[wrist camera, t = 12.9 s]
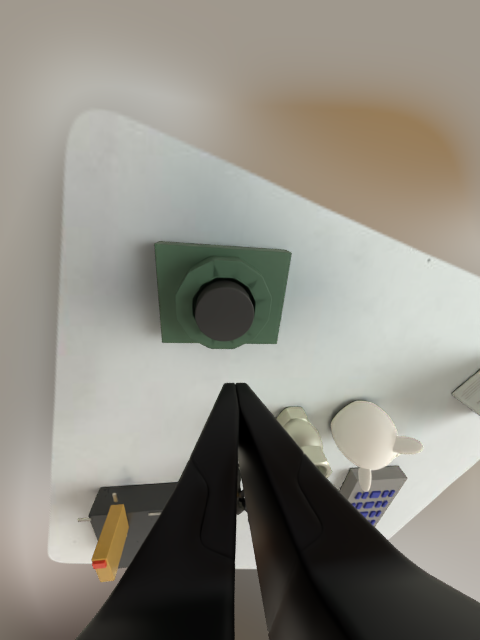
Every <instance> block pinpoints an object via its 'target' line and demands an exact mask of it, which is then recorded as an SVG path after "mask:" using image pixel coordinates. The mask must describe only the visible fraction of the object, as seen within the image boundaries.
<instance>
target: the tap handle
mask: <svg viewBox="0 0 480 640" xmlns="http://www.w3.org/2000/svg"><path fill="white" fill-rule="evenodd" d="M128 529H129V525H128V520H127V516H126V512H125V507H124V504H120V505H111V507H110V509H109V512H108V515H107V518H106V521H105V523H104V526H103V529H102V532H101V535H100V537H99V540H98V543H97V546H96V549H95V551H94V554H93V557H92V566H93V568H94V569H95V570H96V572H97V575H98V577H99V580H100V582H106V581H114V580H115V576H116V573H117V569H118V566H119V562H120V558H121V555H122V551H123V547H124V544H125V540H126V536H127V533H128Z"/></svg>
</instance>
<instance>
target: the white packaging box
mask: <svg viewBox="0 0 480 640" xmlns="http://www.w3.org/2000/svg"><path fill="white" fill-rule="evenodd" d="M453 396H454V397H455V398H457V399H458V400H459V401H461V402H462V403H463V404H465V405H466V406H467V407H469V408H470V409H471V410H473V411H474V412H475V413H477V414H478V415H479V416H480V371H478V372H477V373H476V374H475V375H473V376H472V377H471V378H470V379H469V380H468V381H466V382H465V383H464V384H463V385H462V386H460V387H459V388H458V389H457V390H456V391H455V392H453Z"/></svg>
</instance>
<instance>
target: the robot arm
mask: <svg viewBox="0 0 480 640" xmlns="http://www.w3.org/2000/svg"><path fill="white" fill-rule="evenodd" d="M238 461H239V466H240V472H241V478H242V484H243V490H244V496H245V501H246V507H247V513H248V519H249V525H250V531H251V536H252V542H253V548H254V554H255V560H256V566H257V571H258V577H259V583H260V589H261V595H262V601H263V606H264V612H265V618H266V624H267V630H268V632H269V634H268V636H269V640H480V603H479V602H477V601H476V600H474V599H472V598H470V597H469V596H467V595H465V594H463V593H461V592H460V591H458V590H456V589H454V588H453V587H451V586H449V585H447V584H446V583H444V582H442V581H440V580H439V579H437V578H435V577H433V576H432V575H430V574H428V573H427V572H425V571H424V570H422V569H421V568H420V567H418V566H417V565H416V564H414V563H413V562H412V561H410V560H409V559H408V558H407V557H405V556H404V555H403V554H402V553H401V552H400V551H398V550H397V549H396V548H395V547H394V546H393V545H392V544H391V543H390V542H389V541H388V540H387V539H386V538H385V537H384V536H383V535H382V534H381V533H380V532H379V531H378V530H377V529H376V528H375V527H374V526H373V525H372V524H371V523H370V522H369V521H368V520H367V519H366V518H365V517H364V516H363V515H362V514H361V513H360V512H359V511H358V510H357V509H356V508H355V507H354V506H353V505H352V504H351V503H350V502H349V501H348V500H347V499H346V498H345V497H344V496H343V495H342V494H341V493H340V492H339V491H338V490H337V489H336V488H335V487H334V486H333V484H332V483H331V482H330V481H329V480H328V479H327V478H326V477H325V476H324V475H323V474H322V472H321V471H320V470H319V469H318V468H317V467H316V466H315V464H314V463H313V462H312V461H311V460H310V459H309V457H308V456H307V455H306V454H304V452H303V450H302V449H301V448H300V447H299V446H298V444H297V443H296V442H295V441H294V440H293V438H292V437H291V436H290V435H289V434H288V432H287V431H286V430H285V429H284V428H283V426H282V425H281V424H280V423H279V422H278V420H277V419H276V418H275V417H274V416H273V415H272V413H271V412H270V411H269V410H268V409H267V407H266V406H265V405H264V404H263V403H262V401H261V400H260V399H259V398H258V397H257V395H256V394H255V393H254V392H253V391H252V389H251V388H250V387H249V386H248V385H247V384H246V383H236V384H234V383H225V384H224V385H223V387H222V389H221V391H220V394H219V396H218V398H217V400H216V402H215V404H214V406H213V409H212V411H211V413H210V415H209V417H208V419H207V422H206V424H205V426H204V428H203V430H202V432H201V435H200V437H199V439H198V441H197V443H196V445H195V448H194V450H193V452H192V454H191V456H190V460H189V461H188V462H187V465H186V467H185V469H184V471H183V473H182V475H181V477H180V479H179V481H178V483H177V485H176V487H175V489H174V491H173V493H172V495H171V496H170V498H169V500H168V502H167V503H166V505H165V507H164V509H163V510H162V512H161V514H160V515H159V517H158V519H157V520H156V522H155V524H154V525H153V527H152V529H151V530H150V532H149V534H148V535H147V537H146V538H145V540H144V542H143V543H142V545H141V547H140V548H139V550H138V552H137V553H136V555H135V557H134V558H133V560H132V562H131V563H130V565H129V567H128V568H127V570H126V571H125V573H124V575H123V576H122V578H121V580H120V581H119V583H118V584H117V586H116V587H115V589H114V590H113V592H112V593H111V595H110V596H109V598H108V599H107V600H106V602H105V603H104V605H103V606H102V607H101V609H100V610H99V611H98V613H97V614H96V615H95V617H94V618H93V619H92V621H91V622H90V623H89V624H88V625H87V626H86V628H85V629H84V630H83V631H82V632H81V633H80V635H79V636H78V637H77V638H76V639H75V640H234V639H235V637H234V636H235V632H234V590H235V587H234V586H235V549H236V514H237V479H238Z"/></svg>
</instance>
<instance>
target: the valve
mask: <svg viewBox="0 0 480 640" xmlns="http://www.w3.org/2000/svg"><path fill="white" fill-rule="evenodd" d="M277 420H278V422H279V423H280V424H281V425H282V426H283V428H284V429H285V430H286V431H287V432H288V434H289V435H290V436H291V437H292V438H293V440H294V441H295V442H296V443H297V444H298V446H299V447H300V448H301V449H302V450H303V452H304V454H306V455H307V456H308V457H309V459H310V460H311V461H312V462H313V463H314V464H315V466H316V467H317V468H318V469H319V470H320V471H321V472H322V474H323V475H324V476H325V477H326V478H328V477H329V476H330V474H331V473H332V470H331V468H330V465H329V463H328V461H327V459H326V457H325V455H324V453H323V445H322V440H321V437H320V434H319V433H318V431H317V430H316V428H315V427H314V426H313V425H312V424H310V423H309V420H308V418H307V416H306V414H305V412H304V410H303V408H302V407H289V408H286V409H284V410H283V411H282V412H281V413H280V414H279V416H278V417H277ZM239 467H240V466H239V464H238V479H237V515H239V514H240V513H242V512H243V511H244V510H245V511H246V512H247V507H246V501H245V498H244V497H245V496H244V490H242V491H241V488H240V481H241V472H240V470H239ZM248 522H249V519H248Z"/></svg>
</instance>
